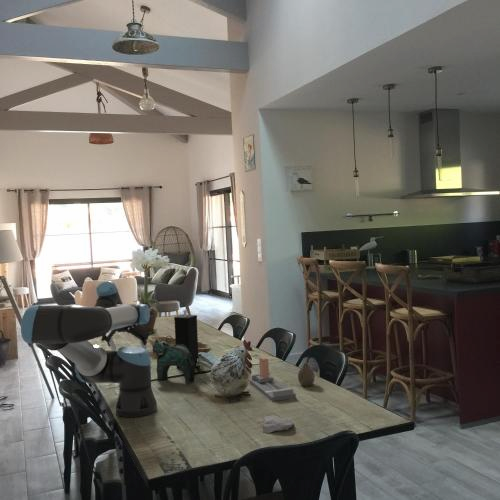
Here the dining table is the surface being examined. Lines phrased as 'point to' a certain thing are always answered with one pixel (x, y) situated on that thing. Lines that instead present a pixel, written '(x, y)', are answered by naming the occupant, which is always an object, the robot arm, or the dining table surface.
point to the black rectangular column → (187, 333)
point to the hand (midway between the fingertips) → (130, 349)
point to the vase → (306, 375)
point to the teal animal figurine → (173, 360)
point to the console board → (272, 389)
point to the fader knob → (264, 371)
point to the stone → (275, 424)
